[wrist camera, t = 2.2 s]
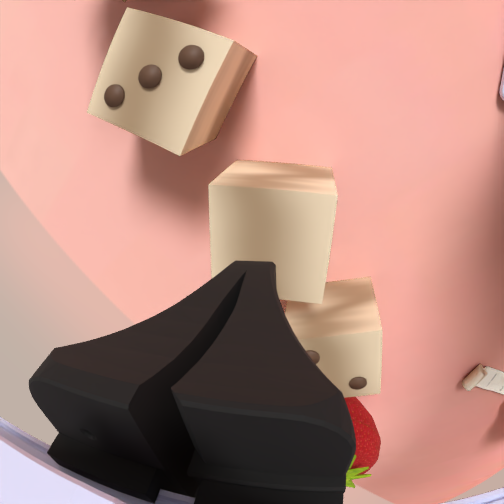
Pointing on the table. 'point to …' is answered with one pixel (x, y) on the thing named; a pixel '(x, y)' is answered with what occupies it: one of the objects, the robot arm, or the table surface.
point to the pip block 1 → (169, 81)
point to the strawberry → (362, 441)
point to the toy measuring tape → (485, 379)
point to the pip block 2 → (342, 335)
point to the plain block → (275, 222)
